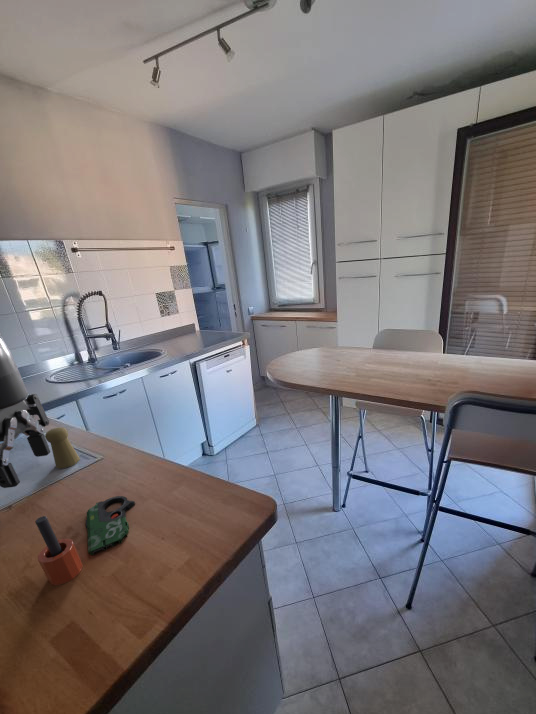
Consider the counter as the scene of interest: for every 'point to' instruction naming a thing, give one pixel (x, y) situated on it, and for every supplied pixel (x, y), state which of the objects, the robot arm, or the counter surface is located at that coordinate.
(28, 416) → the robot arm
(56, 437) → the cork
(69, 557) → the pen cup
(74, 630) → the counter surface
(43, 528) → the dark gray rod
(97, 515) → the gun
